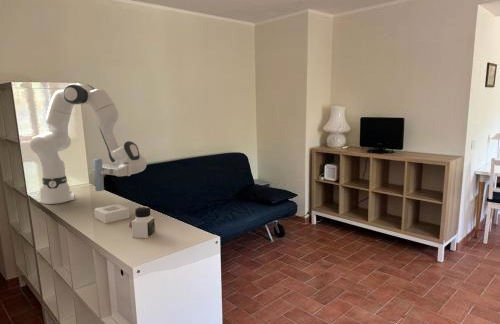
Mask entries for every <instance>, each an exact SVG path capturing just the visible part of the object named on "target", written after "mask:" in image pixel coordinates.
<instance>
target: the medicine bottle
mask: <svg viewBox="0 0 500 324" xmlns="http://www.w3.org/2000/svg"><path fill="white" fill-rule="evenodd" d="M134 212H135V213H134V214H135V216H134V218H135V217H136V219H134V218H133V219H134V220H133V219H132V220H133V221H132V220H131V221H132V227H131V236H132V239H149V238H150V237H152V236H153V235H154V234H155V233H156V222H155V216H151V208H150V207H148V206H139V207H137V208H135V210H134ZM151 235H152V236H151Z"/></svg>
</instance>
